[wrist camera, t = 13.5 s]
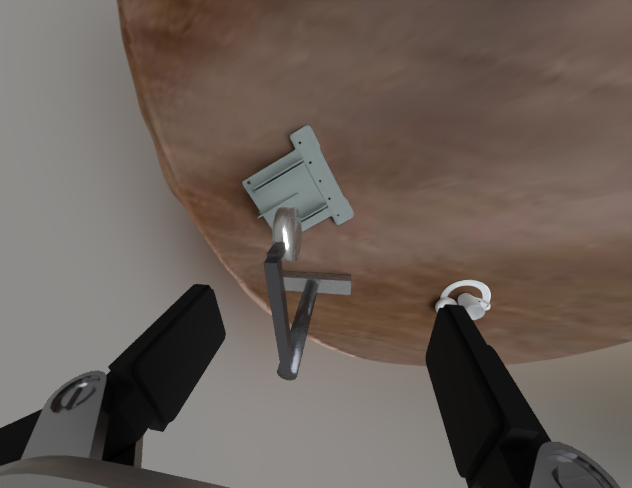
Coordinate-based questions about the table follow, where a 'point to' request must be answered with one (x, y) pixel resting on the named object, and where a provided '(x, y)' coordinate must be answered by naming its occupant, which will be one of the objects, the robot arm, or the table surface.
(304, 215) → the metal bracket
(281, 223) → the metal desk lamp
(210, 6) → the table surface
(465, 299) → the white ring with cylinder
